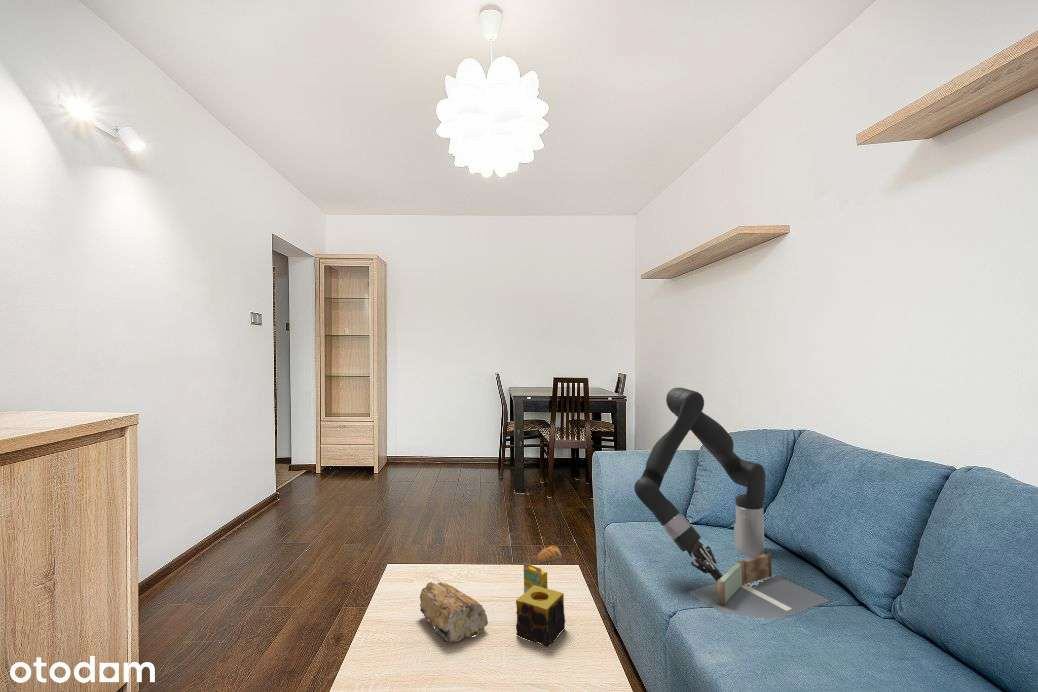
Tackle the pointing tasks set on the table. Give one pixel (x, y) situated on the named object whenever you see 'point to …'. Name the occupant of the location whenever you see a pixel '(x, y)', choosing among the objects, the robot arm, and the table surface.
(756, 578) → the walnut fence
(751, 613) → the card
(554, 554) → the pastry
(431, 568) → the table surface
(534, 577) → the crayon box
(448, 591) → the petrified wood
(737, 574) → the green panel
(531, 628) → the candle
